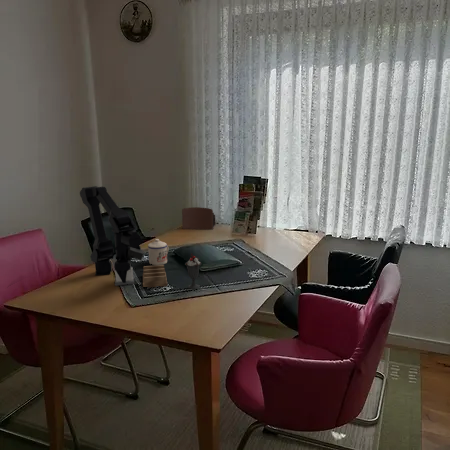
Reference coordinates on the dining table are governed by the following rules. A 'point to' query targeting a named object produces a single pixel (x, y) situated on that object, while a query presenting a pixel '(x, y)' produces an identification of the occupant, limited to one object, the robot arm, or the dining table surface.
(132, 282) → the rails
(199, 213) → the letter holder
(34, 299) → the dining table surface
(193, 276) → the sundae
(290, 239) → the dining table surface
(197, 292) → the dining table surface
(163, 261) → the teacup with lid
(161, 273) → the rack
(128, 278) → the upright white panel
